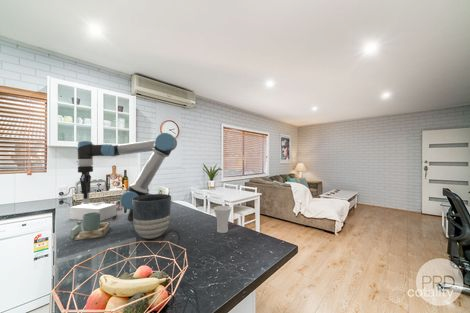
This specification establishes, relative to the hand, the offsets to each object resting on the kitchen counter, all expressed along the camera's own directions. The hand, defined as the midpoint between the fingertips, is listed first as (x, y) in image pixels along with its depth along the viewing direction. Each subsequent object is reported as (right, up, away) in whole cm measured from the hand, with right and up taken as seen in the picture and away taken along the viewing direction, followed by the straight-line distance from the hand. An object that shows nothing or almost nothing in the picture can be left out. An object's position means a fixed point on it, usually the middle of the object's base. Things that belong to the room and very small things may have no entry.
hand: (86, 203), depth 120 cm
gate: (+4, -14, -13) cm, 20 cm away
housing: (+13, -14, -11) cm, 22 cm away
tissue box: (-10, -15, +20) cm, 27 cm away
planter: (+48, -15, -16) cm, 53 cm away
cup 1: (+12, -14, -11) cm, 21 cm away
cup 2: (+86, -15, -8) cm, 87 cm away
